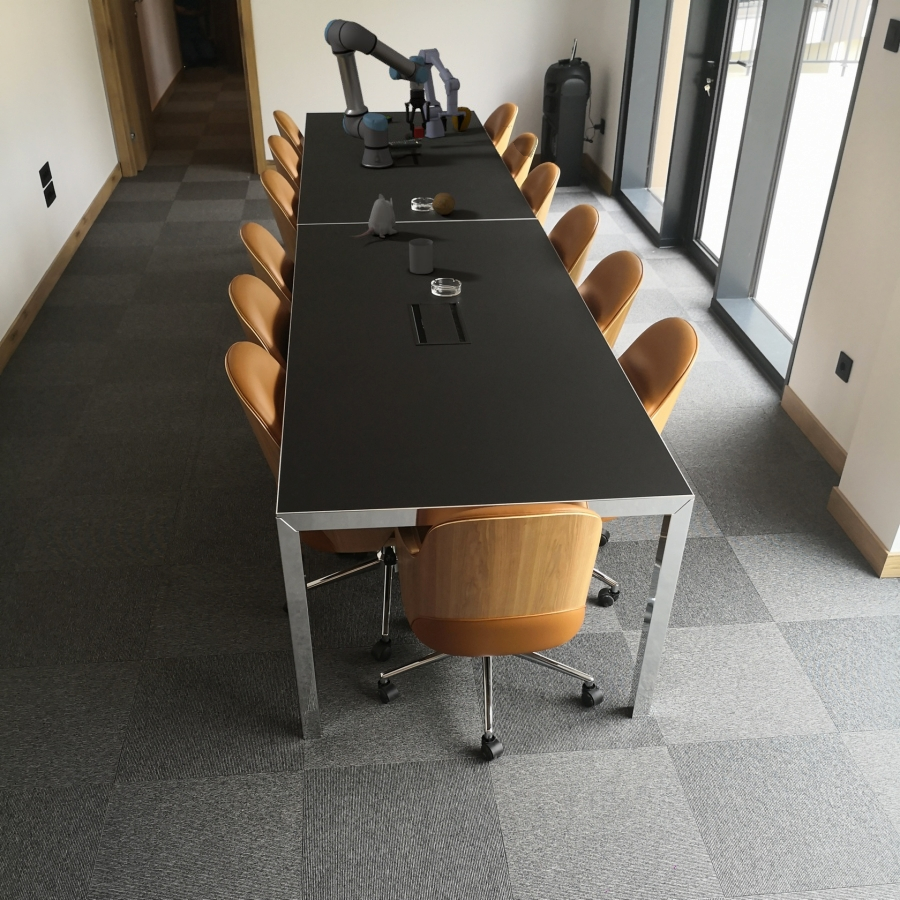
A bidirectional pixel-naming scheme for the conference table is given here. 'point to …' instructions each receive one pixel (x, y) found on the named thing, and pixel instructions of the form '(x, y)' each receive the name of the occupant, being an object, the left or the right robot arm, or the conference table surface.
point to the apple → (465, 121)
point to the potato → (443, 203)
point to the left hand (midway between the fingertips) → (418, 136)
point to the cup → (421, 256)
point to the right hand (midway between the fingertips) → (452, 130)
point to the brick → (419, 132)
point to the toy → (381, 218)
